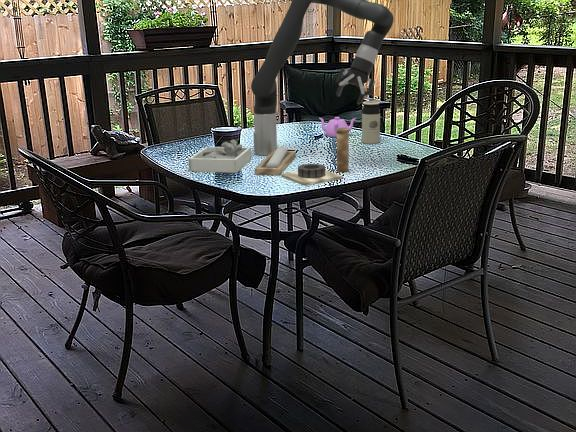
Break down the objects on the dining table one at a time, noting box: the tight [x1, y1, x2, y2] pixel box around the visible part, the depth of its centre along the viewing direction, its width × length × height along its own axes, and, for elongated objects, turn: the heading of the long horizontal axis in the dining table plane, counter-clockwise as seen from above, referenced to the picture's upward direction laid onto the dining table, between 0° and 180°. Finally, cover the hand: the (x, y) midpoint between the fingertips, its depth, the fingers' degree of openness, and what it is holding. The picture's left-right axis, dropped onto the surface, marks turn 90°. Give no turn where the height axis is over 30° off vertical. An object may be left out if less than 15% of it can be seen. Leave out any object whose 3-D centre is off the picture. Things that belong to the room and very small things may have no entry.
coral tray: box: [187, 146, 252, 174], centre depth 262 cm, size 19×22×5 cm
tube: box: [266, 146, 288, 168], centre depth 259 cm, size 5×5×25 cm
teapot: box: [318, 116, 357, 138], centre depth 313 cm, size 12×14×9 cm
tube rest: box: [254, 150, 297, 176], centre depth 259 cm, size 10×31×2 cm, turn 168°
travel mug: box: [361, 100, 381, 145], centre depth 294 cm, size 8×8×18 cm
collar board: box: [280, 163, 343, 186], centre depth 240 cm, size 16×16×4 cm
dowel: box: [336, 128, 350, 173], centre depth 246 cm, size 4×4×16 cm
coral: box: [201, 139, 243, 159], centre depth 260 cm, size 17×14×10 cm
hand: (347, 100), depth 249 cm, fingers open, 8 cm apart
